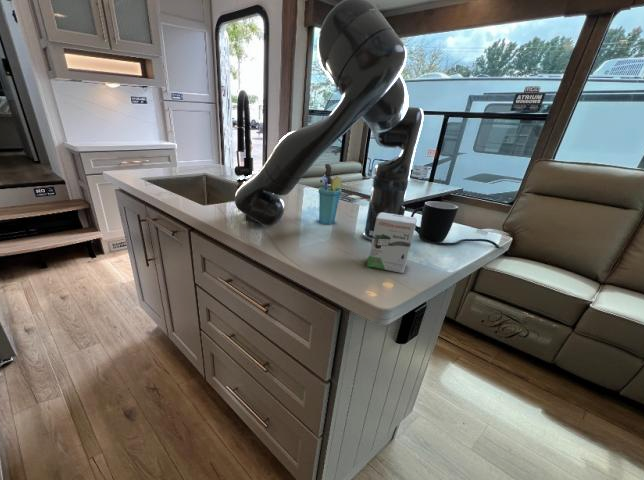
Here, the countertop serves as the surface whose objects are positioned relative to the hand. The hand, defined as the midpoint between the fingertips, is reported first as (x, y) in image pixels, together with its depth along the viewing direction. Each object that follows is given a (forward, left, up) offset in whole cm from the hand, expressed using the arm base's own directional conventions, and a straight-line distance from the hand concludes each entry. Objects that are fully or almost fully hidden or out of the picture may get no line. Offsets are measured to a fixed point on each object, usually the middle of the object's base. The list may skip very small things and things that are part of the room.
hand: (262, 179), depth 96 cm
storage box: (0, -2, -13) cm, 14 cm away
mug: (-50, +12, -14) cm, 53 cm away
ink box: (-30, +34, -14) cm, 47 cm away
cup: (-21, -1, -14) cm, 25 cm away
